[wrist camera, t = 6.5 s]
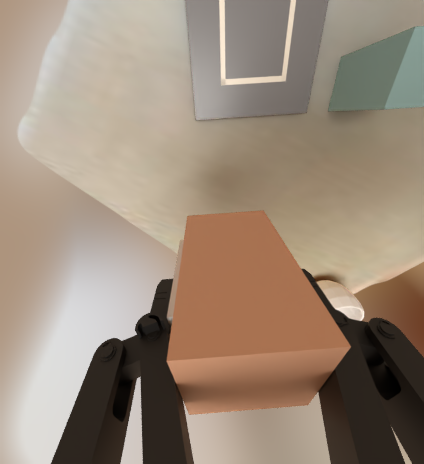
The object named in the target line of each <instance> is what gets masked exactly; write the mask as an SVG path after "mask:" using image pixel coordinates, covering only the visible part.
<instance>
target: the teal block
mask: <svg viewBox="0 0 424 464" xmlns="http://www.w3.org/2000/svg"><path fill="white" fill-rule="evenodd" d="M414 107H424V26H417V27H413V28H411V29H408V30H406V31H404V32H401V33H399V34H396V35H394V36H391V37H389V38H387V39H384V40H382V41H379V42H377V43H375V44H372V45H370V46H367V47H365V48H362V49H360V50H358V51H355V52H353V53H350V54H348V55H345V56H343V57H341V60H340V64H339V68H338V72H337V76H336V80H335V84H334V88H333V92H332V97H331V101H330V105H329V109H328V111H351V110H383V109H399V108H414Z"/></svg>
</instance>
